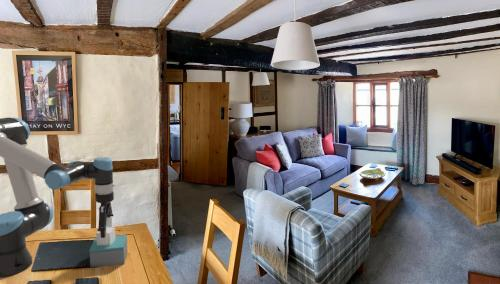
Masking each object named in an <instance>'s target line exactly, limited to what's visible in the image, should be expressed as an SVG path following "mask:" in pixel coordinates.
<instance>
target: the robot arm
mask: <svg viewBox="0 0 500 284" xmlns="http://www.w3.org/2000/svg"><path fill="white" fill-rule="evenodd" d="M30 136H31V130H30V127H29V125H28V124H27V123H26V122H25V120H22V119H21V118H19V117H2V118H0V157H1V158H2V159H3V161H4V165H5V168H6V171H7V176H8V178H9V182H10V185H11V189H12V192H13V195H14V199H15V203H16V204H15V205H14V207H13V210H12V211H8V212H4V213H1V214H0V278H2V277H9V276H12V275H16V274H19V273H22V272H23V271H25V270H27V269H29V268H30V267H31V266H32V265H33V257H32V256H33V255H31V252H30V251H29V249H28V248H27V241H26V238H27V237H29V236H31V235H33V234H36V233H37V232H39V231H40V230H42V229H45V227H47V226H48V225H49V224H50V223H51V222H52V220H53V218H54V211H53V208H52V206H50V205H49V204H48V203H46V202H45V201H44V199H43V198H40V197H39V194H38V191H37V187H36V184H35V181H34V177H33V175H36V176H38V177H40V178H41V179H43V180H44V184H45V185H46V186H47V187H48V188H49V189H51V190H59V189H62V188H66V187H67V186H69V185H72V184H74V183H77V182H79V181H81V180H85V179H87V180H93V181H94V193H95V195H94V196H95V197H94V199H95V202H96V203H99V204H100V205H99V208H98V228H97V230H96V231H97V232H98V231H100V244H107V229H106V227H113V217H114V213H113V208H112V201H114V199H115V196H114V194H115V193H114V188H115V184H114V179H113V178H114V176H113V175H114V174H113V172H114V171H113V169H114V167H113V160H112V159H111V158H110V157H96V158H94V159H93V162H92V161H81V160H77V161H73V160H72V161H70V162H69V163H68V164H67V165H66V166H63V165H61V164H58V163H57V162H54V161H52V160H50V159H49V158H46V157H44V156H43V155H41V154H40V153H37V152H35V151H33V150H32V149H29V148H27V145H28V142H27V141H28V140H29V137H30Z"/></svg>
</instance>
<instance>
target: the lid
mask: <svg viewBox="0 0 500 284" xmlns="http://www.w3.org/2000/svg"><path fill="white" fill-rule="evenodd" d="M115 238H116V239H115V241H114V242H113V243H112V244H111V245H110V246H104V245H97V239H96V236H95V238H94V239H93V242H92V243H91V246H90V248H89V253H90V252H99V251H110V250H120V249H124V246H125V242H126V239H127V240H128V234H122V235H120V234H119V235H115Z"/></svg>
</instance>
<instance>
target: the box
mask: <svg viewBox="0 0 500 284" xmlns="http://www.w3.org/2000/svg"><path fill="white" fill-rule="evenodd" d="M127 253H128V238H127V239H126V242H125V246H124V249H120V250H110V251H99V252H89V264H90V268H98V267H108V266H117V265H119V266H120V265H124V264H125V262H126V259H127Z"/></svg>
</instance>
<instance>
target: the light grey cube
mask: <svg viewBox="0 0 500 284" xmlns="http://www.w3.org/2000/svg"><path fill="white" fill-rule="evenodd" d="M106 229H107V244H100V231H97V232H95V233H96V234H95V237H96V239H97V245H104V246H110V245H111V244H112V243H113V242H114V241H115V239H116V238H115V236H116V227H114V226H112V227H106Z"/></svg>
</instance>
